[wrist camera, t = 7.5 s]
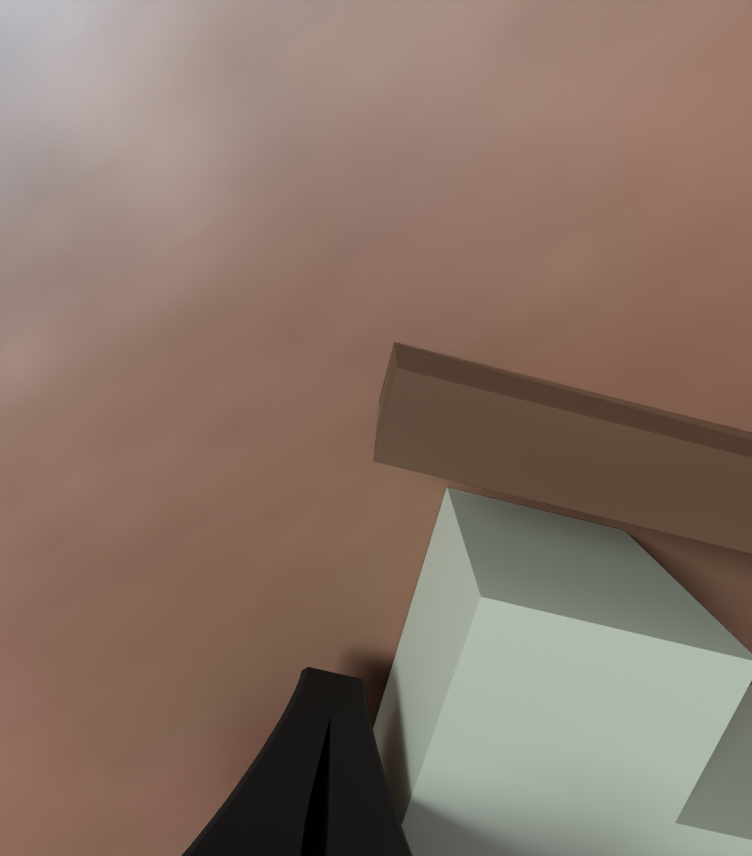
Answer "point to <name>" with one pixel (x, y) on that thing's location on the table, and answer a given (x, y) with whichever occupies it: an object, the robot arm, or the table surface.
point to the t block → (562, 697)
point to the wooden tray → (565, 447)
